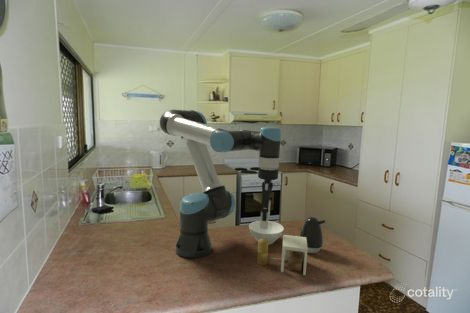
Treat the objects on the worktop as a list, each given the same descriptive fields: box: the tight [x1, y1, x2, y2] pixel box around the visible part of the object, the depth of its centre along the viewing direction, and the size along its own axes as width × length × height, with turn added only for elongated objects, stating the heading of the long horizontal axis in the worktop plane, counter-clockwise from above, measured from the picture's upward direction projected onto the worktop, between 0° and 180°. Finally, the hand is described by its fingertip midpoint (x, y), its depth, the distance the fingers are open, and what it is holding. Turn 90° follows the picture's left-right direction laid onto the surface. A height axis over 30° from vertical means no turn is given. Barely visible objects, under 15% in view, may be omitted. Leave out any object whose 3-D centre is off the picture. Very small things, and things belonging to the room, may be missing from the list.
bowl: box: [248, 220, 285, 246], centre depth 131 cm, size 16×16×7 cm
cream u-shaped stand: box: [280, 234, 308, 276], centre depth 109 cm, size 9×10×10 cm
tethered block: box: [256, 239, 303, 272], centre depth 110 cm, size 17×5×9 cm, turn 79°
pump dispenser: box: [299, 216, 326, 254], centre depth 122 cm, size 10×10×15 cm
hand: (265, 221), depth 110 cm, fingers open, 13 cm apart
